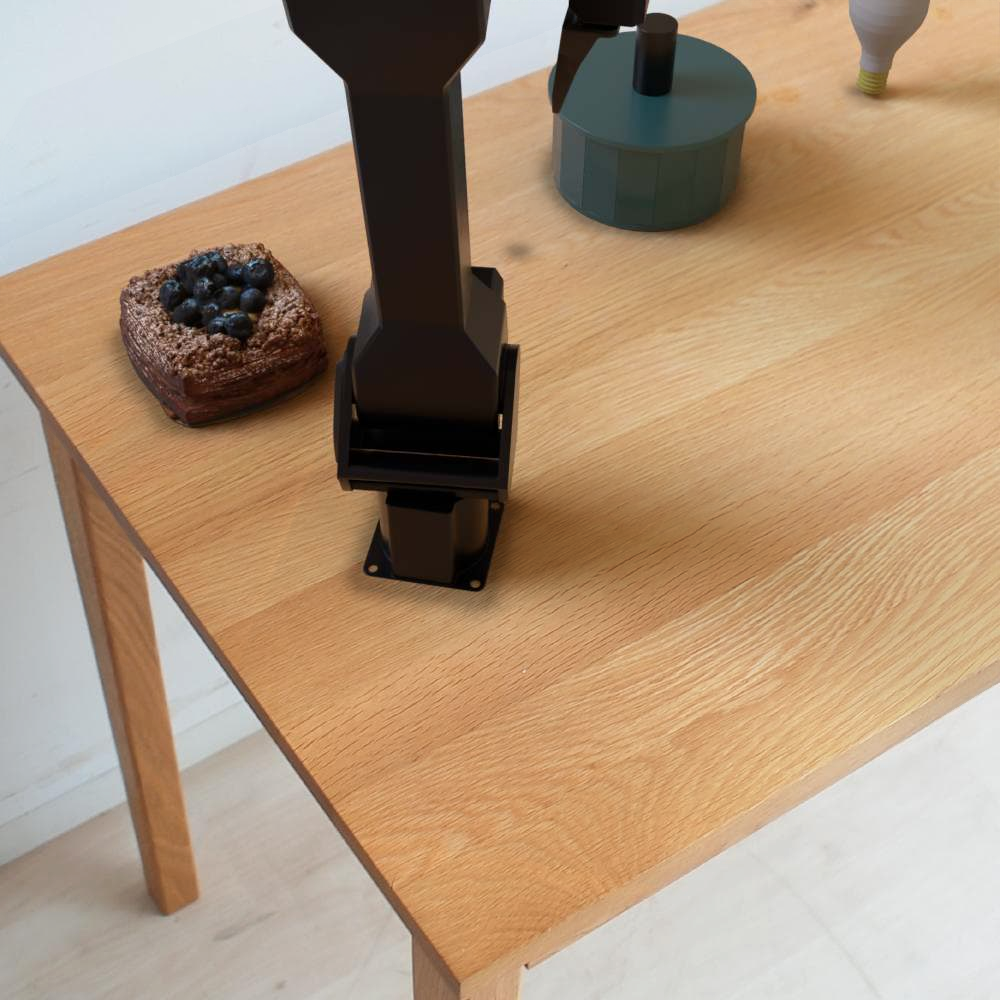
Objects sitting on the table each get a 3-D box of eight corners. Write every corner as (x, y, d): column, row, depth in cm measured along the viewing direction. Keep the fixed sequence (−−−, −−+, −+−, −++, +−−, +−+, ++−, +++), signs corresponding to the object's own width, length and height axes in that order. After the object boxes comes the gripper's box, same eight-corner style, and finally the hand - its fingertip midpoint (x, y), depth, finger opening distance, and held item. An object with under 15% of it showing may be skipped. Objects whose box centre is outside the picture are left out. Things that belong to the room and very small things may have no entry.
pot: (728, 241, 95) (741, 158, 90) (538, 219, 96) (540, 136, 91) (743, 132, 103) (755, 50, 98) (568, 113, 104) (571, 31, 99)
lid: (746, 172, 90) (759, 93, 85) (531, 148, 91) (532, 70, 87) (761, 55, 99) (773, -22, 94) (564, 35, 100) (567, -41, 96)
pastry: (181, 445, 82) (163, 370, 78) (103, 326, 89) (82, 250, 85) (352, 375, 86) (344, 299, 82) (265, 265, 93) (253, 190, 88)
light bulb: (817, 83, 107) (841, -45, 99) (878, 66, 108) (906, -62, 101) (859, 121, 104) (887, -8, 96) (922, 103, 105) (954, -26, 98)
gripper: (681, -229, 75) (656, 42, 86) (332, -256, 77) (354, 12, 89) (656, -132, 67) (633, 150, 79) (271, -165, 70) (304, 114, 81)
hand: (477, 100), depth 82 cm, fingers open, 9 cm apart
